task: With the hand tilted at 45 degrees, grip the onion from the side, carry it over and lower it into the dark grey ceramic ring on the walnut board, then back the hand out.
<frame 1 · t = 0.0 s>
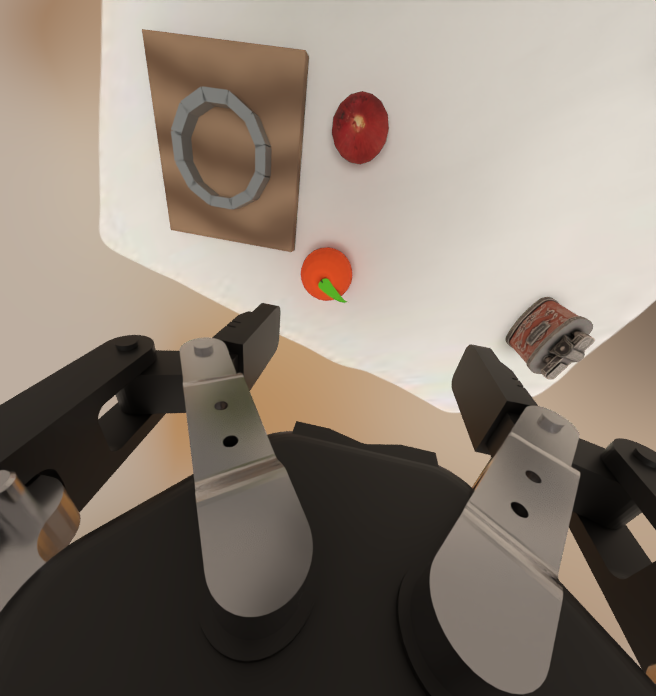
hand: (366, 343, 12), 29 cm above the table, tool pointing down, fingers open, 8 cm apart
clementine: (333, 271, 40), on the table
ring: (222, 154, 33), on the board, point 2 cm above the table
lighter: (529, 322, 39), on the table
board: (232, 156, 35), on the table
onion: (362, 136, 32), on the table
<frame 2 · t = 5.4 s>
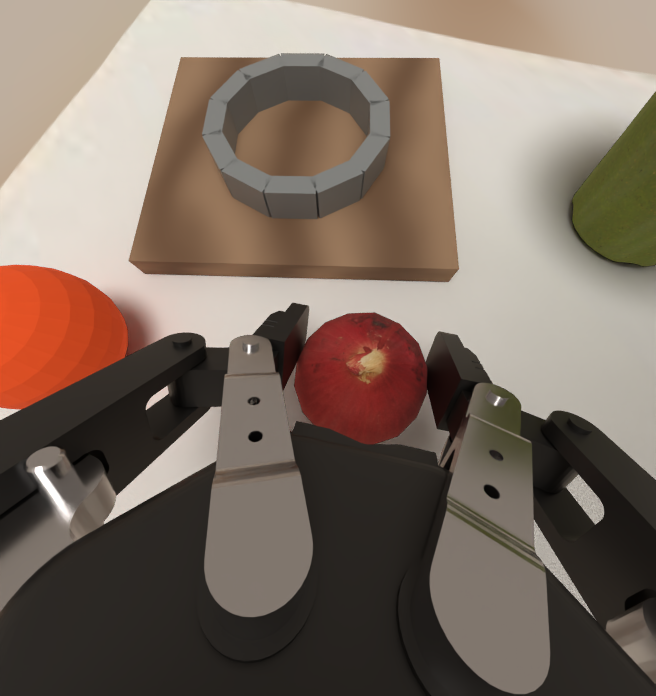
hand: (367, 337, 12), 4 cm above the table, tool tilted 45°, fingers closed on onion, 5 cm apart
clementine: (95, 361, 17), on the table
ring: (298, 133, 18), on the board, point 2 cm above the table
board: (303, 168, 20), on the table
plant pot: (618, 222, 19), on the table
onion: (353, 387, 16), on the table, touching gripper
when the fingers open (7 cm above the table, at t = 10.7 s): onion drops 1 cm, resting on board.
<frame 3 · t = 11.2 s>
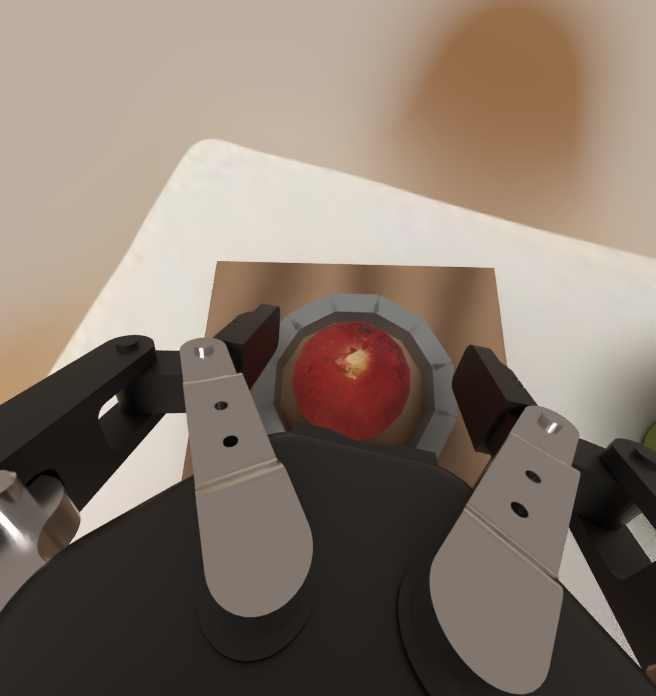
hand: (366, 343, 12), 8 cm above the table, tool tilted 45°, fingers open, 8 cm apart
ring: (352, 387, 16), on the board, point 2 cm above the table
board: (350, 391, 19), on the table
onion: (347, 392, 17), point 1 cm above the table, touching board
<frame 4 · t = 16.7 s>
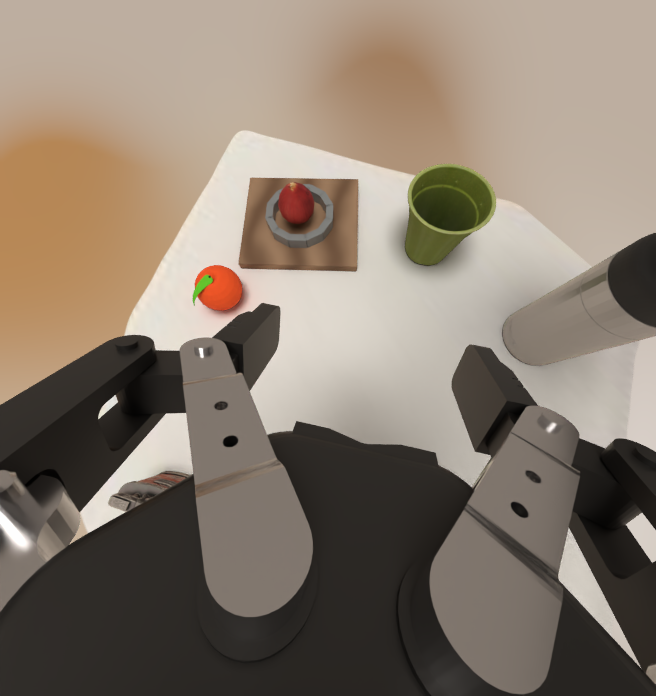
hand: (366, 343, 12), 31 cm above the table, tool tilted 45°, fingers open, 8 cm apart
clementine: (225, 300, 46), on the table
ring: (300, 215, 47), on the board, point 2 cm above the table
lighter: (184, 486, 39), on the table
board: (301, 225, 49), on the table
plant pot: (424, 248, 48), on the table
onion: (299, 221, 48), point 1 cm above the table, touching board
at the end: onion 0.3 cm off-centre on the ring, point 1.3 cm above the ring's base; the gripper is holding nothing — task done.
